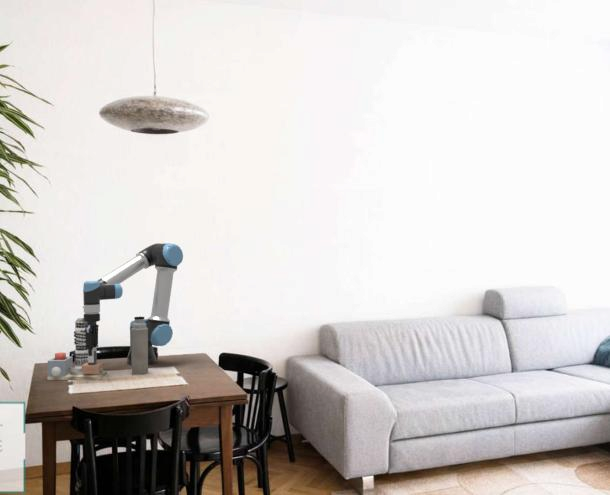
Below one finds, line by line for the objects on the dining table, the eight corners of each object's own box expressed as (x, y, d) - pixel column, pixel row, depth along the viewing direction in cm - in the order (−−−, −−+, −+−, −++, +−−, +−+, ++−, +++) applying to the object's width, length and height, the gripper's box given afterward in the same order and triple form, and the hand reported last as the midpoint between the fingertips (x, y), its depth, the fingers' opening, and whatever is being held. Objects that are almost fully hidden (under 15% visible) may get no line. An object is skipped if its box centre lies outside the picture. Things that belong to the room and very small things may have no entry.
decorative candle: (95, 364, 345) (95, 317, 345) (87, 368, 336) (87, 319, 335) (78, 364, 346) (78, 317, 346) (70, 367, 337) (70, 319, 336)
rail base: (107, 374, 320) (107, 365, 320) (100, 379, 308) (100, 370, 308) (56, 374, 320) (56, 365, 320) (47, 380, 308) (47, 370, 308)
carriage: (102, 371, 318) (102, 350, 317) (98, 374, 311) (98, 353, 310) (86, 371, 318) (86, 350, 317) (81, 374, 310) (81, 353, 310)
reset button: (67, 359, 316) (67, 352, 316) (63, 361, 311) (63, 354, 311) (57, 359, 316) (57, 352, 316) (53, 361, 311) (53, 354, 311)
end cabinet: (72, 374, 319) (72, 356, 319) (64, 379, 308) (64, 361, 308) (56, 374, 319) (56, 356, 319) (47, 380, 308) (47, 361, 308)
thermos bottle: (137, 370, 328) (137, 315, 328) (151, 371, 326) (150, 316, 325) (128, 374, 321) (127, 317, 320) (142, 375, 318) (141, 318, 318)
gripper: (89, 311, 322) (89, 358, 322) (78, 315, 305) (78, 365, 306) (104, 311, 322) (105, 358, 322) (94, 315, 305) (94, 364, 306)
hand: (92, 361), depth 314 cm, fingers closed on carriage, 3 cm apart
